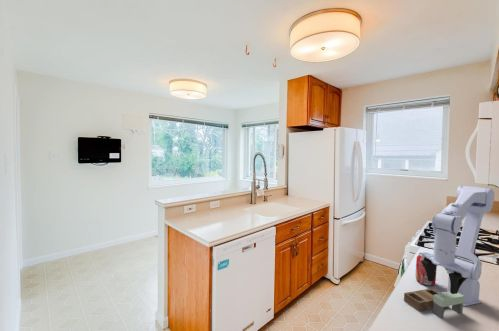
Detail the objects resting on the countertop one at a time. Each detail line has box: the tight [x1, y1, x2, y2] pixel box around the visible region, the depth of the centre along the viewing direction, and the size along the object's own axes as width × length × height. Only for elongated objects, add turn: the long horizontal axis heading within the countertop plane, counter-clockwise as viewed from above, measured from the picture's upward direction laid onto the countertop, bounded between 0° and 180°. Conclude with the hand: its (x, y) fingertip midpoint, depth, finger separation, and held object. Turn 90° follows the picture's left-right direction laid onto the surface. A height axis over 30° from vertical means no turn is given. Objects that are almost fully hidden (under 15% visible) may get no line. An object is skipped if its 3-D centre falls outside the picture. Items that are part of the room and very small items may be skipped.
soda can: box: [415, 252, 438, 287], centre depth 101 cm, size 7×7×12 cm
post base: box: [403, 288, 441, 312], centre depth 87 cm, size 13×6×3 cm, turn 105°
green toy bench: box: [432, 291, 464, 319], centre depth 82 cm, size 10×3×6 cm, turn 105°
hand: (442, 286), depth 82 cm, fingers open, 7 cm apart
